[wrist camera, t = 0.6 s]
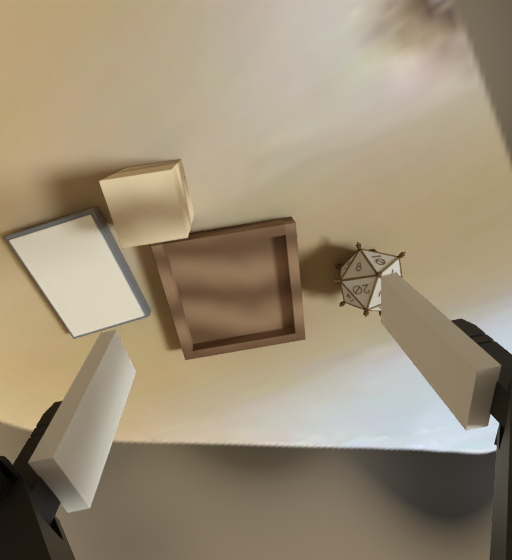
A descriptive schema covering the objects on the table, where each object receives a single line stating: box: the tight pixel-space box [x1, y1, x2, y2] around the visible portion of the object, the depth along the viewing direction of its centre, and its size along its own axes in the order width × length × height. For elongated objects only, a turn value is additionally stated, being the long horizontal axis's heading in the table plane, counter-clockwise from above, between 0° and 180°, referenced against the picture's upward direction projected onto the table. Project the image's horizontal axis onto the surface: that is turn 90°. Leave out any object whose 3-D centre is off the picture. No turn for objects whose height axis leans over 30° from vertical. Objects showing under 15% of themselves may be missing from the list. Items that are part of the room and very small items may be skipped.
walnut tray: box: [151, 217, 305, 360], centre depth 40 cm, size 16×16×2 cm
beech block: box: [99, 159, 194, 248], centre depth 32 cm, size 6×6×8 cm
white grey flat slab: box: [5, 206, 151, 339], centre depth 38 cm, size 14×10×2 cm
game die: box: [334, 242, 405, 317], centre depth 38 cm, size 9×8×10 cm
